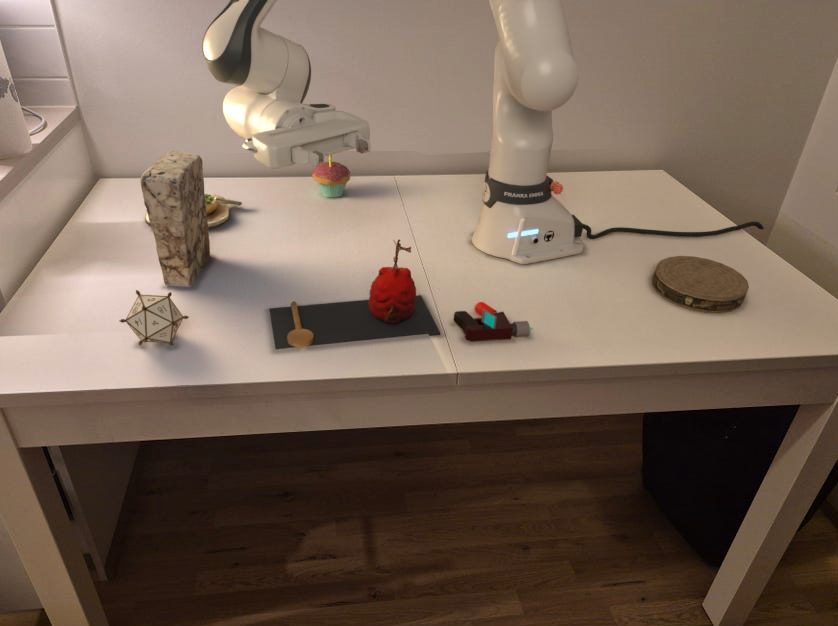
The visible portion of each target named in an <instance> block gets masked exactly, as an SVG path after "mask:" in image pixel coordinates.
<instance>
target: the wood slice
mask: <svg viewBox="0 0 838 626" xmlns="http://www.w3.org/2000/svg"><path fill="white" fill-rule="evenodd" d="M651 281H652V282H651V286H652V287H653V289H654V291H655V293H657V294H658V295H659V296H661V298H663V299H664V300H666V301H667V302H670V303H672V304H674V305H676V306H677V307H681V308H684V309H687V310H691V311H696V312H701V313H708V314H709V313H710V314H723V313H724V314H725V313H730V312H733V311H736V310H737V309H739V308H741V306H742V305H743V304H744V300H745V299H746V296H747V294H748V291H749V289H750V286H749V282H748V280H747V279H746V277H745V276H744V275H743V274H742V273H740V272H739V271H737V270H736V269H734V268H732V267H731V266H728V265H726V264H724V263H722V262H719V261H716V260H712V259H709V258H704V257H698V256H692V255H691V256H688V255H676V256H669V257H666V258H664V259H661V260H659V262H658V263H657V264H656V266H655V269H654V272H653V275H652V280H651Z"/></svg>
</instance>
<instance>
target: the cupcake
mask: <svg viewBox="0 0 838 626" xmlns="http://www.w3.org/2000/svg"><path fill="white" fill-rule="evenodd" d="M312 178H313V180H314V181H315V182H316V183H317V184H318V186H319V189H320V192H321V195H322V196H323V197H326V198H339V197H341V196H343V195H344V190H345V188H346V185H347V183H348V182H349V181H350V180H351V171H350V169H348V167H347V166H346V165H344V164H341V163H340V162H338V161H337V162H336V161H333V154H332V155H328V161H324V164H323V165H319V166H316V167H315V168H314V170H312Z"/></svg>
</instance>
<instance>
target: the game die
mask: <svg viewBox="0 0 838 626" xmlns="http://www.w3.org/2000/svg"><path fill="white" fill-rule="evenodd" d="M135 294H136V296H137V297H136V299H135V301H134V303H133V305H132V306H131V309H130V311H129V313H128V314H127V316H126V318H125V319H124V318H121V319H119V322H120V323H126V324H127V326H128V327H129V328H130V329H131V330H132V331H133V333H134V334H135V335H136V337H137V338H138V339H139V340H138V346H142V345H143V344H144V343H161V344H162V343H163V344H169V346H174V342H172V341H173V340H174V337H175V336H176V334H177V331H178V330H179V328H180V325H181V324H182V322H183V320H188V319H189V318H190V316H188V315H187V314H186V315H184V316H183V314H182V313H181V311H180V310H179V309H178V307H177V306H176V304H175V303H174V302H173V300H172V298H171V297H172V296H173V294H172V291H170V292H167V295H155V294H141V292H140V290H138V289H136V290H135Z"/></svg>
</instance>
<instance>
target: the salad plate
mask: <svg viewBox="0 0 838 626" xmlns="http://www.w3.org/2000/svg"><path fill="white" fill-rule="evenodd" d="M204 194H205V204H206V210H207V220H208V229H209V228H214V227H218V226H220V225H221V224H224V223H225V222H226V221H227V220H228V219H229V218H230V210H231V208H234V207H238V206H239V207H240V206H241V205H242V204H243V203H242V202H243V201H238V200H234V199H233V200H231V199H226V198H225V197H224V196H221V195H218V194H216V193H204ZM144 220H145V224H146V225H147V226H149V227H151V224H150V220H149V216H148V211H147V210H146V212H145V219H144Z"/></svg>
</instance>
